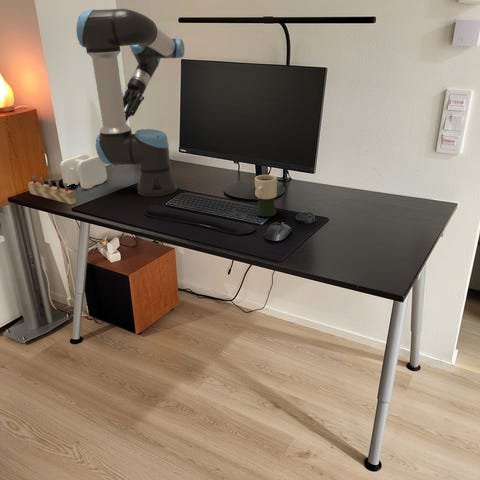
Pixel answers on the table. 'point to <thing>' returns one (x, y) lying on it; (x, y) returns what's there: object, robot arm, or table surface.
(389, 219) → the table surface
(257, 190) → the character mug
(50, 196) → the comb rail
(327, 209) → the table surface
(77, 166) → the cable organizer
